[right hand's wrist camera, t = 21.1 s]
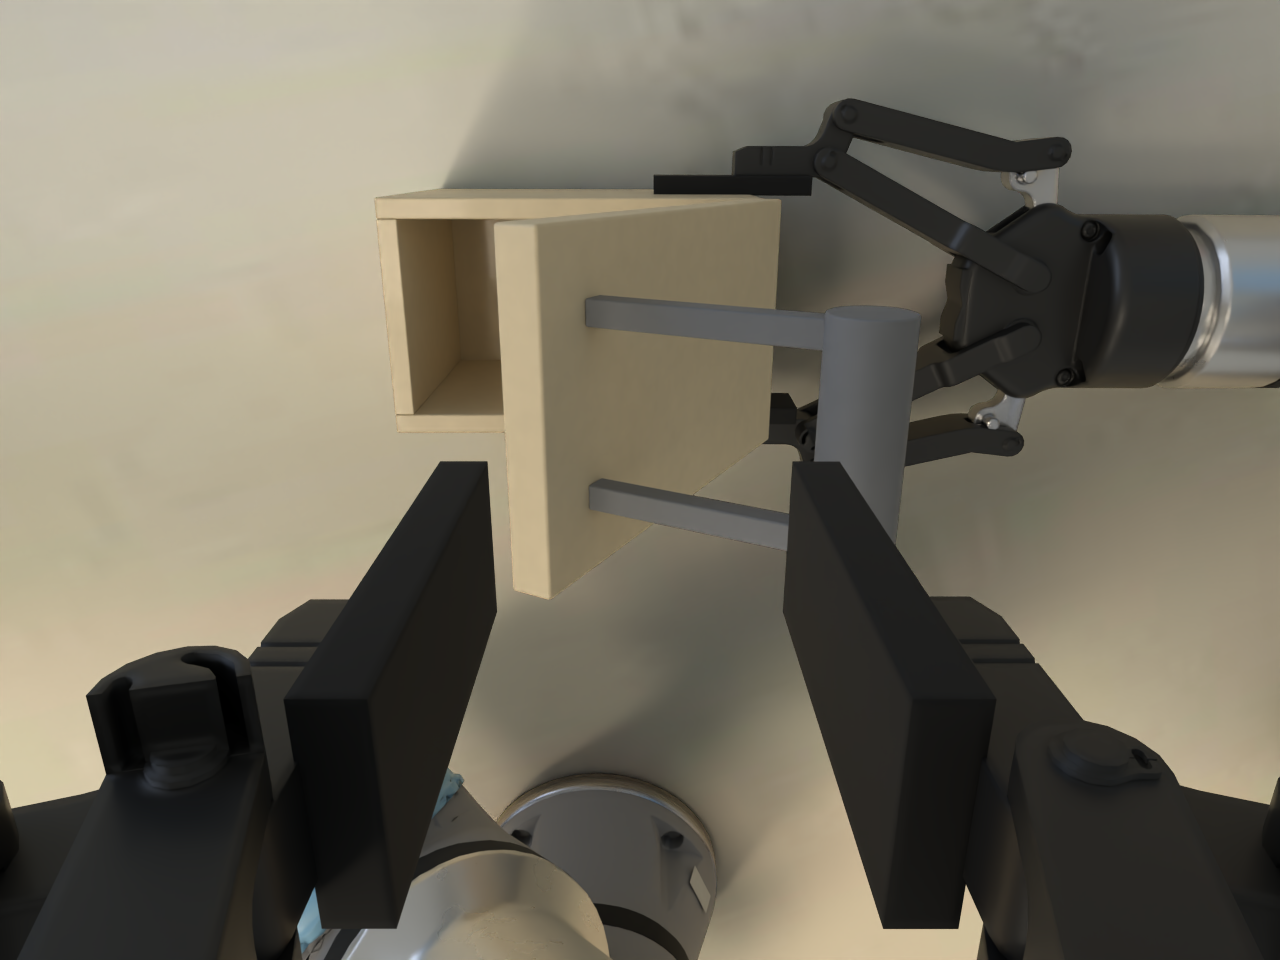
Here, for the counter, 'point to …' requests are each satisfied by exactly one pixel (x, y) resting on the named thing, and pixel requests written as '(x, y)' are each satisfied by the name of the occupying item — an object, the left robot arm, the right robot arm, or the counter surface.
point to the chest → (464, 293)
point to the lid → (672, 380)
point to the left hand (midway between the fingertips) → (653, 301)
